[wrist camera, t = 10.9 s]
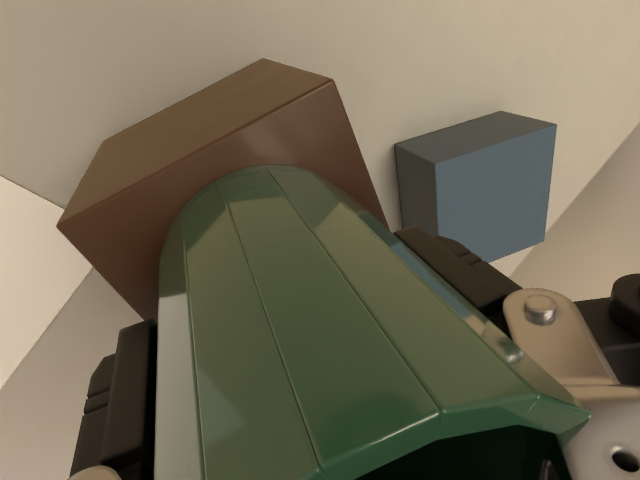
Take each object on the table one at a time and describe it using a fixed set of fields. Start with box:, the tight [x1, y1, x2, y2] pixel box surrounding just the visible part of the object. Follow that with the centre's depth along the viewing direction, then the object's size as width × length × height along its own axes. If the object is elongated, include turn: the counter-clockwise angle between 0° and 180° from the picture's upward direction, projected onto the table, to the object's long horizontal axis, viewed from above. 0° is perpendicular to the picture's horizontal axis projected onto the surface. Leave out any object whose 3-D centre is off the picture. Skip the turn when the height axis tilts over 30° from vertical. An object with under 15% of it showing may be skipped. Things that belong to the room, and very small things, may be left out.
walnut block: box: [56, 59, 390, 324], centre depth 16 cm, size 8×8×9 cm
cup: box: [154, 164, 593, 480], centre depth 9 cm, size 6×6×8 cm
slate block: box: [395, 111, 557, 263], centre depth 23 cm, size 7×7×4 cm
